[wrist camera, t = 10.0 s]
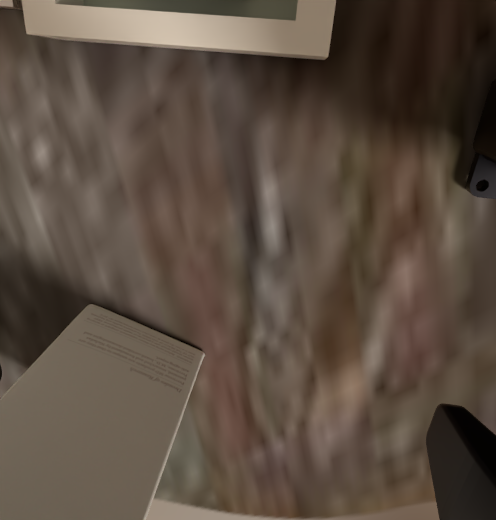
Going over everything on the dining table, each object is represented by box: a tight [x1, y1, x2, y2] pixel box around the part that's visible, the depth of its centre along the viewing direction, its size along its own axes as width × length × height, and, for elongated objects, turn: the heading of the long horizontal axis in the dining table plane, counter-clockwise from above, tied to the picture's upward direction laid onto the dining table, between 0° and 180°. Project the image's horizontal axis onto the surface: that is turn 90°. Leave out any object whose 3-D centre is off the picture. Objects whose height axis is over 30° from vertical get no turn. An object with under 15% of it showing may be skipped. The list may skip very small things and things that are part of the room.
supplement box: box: [0, 304, 205, 520], centre depth 18 cm, size 7×7×13 cm
